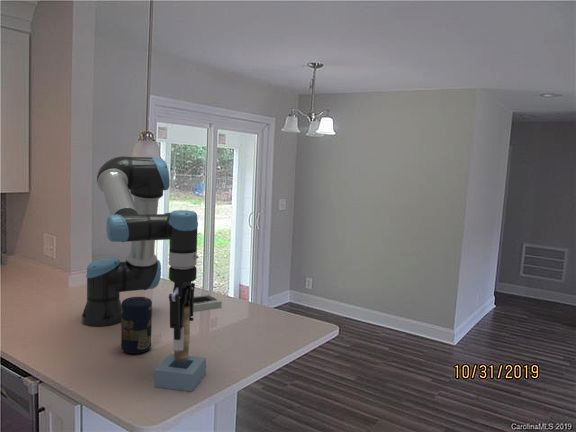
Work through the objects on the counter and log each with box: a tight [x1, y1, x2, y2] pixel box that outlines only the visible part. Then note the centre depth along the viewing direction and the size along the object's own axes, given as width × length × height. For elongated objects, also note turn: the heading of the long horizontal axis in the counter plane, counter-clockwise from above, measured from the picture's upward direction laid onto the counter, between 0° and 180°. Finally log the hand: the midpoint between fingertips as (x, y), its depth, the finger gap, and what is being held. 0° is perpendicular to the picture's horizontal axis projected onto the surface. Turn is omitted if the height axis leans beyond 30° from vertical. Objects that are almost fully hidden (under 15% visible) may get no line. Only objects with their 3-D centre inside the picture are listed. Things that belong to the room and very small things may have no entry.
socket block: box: [153, 353, 207, 393], centre depth 131 cm, size 11×11×5 cm
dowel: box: [173, 306, 190, 362], centre depth 130 cm, size 4×4×15 cm
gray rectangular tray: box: [193, 294, 223, 313], centre depth 198 cm, size 17×5×16 cm
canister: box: [120, 296, 153, 355], centre depth 149 cm, size 10×10×18 cm
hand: (181, 346), depth 130 cm, fingers closed on dowel, 4 cm apart
